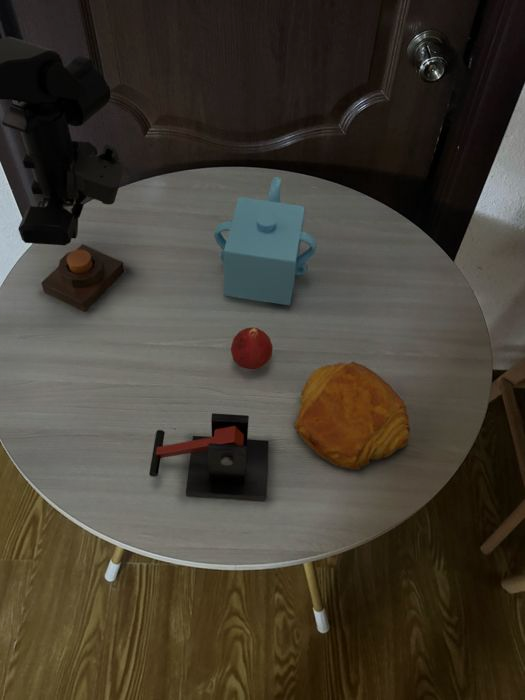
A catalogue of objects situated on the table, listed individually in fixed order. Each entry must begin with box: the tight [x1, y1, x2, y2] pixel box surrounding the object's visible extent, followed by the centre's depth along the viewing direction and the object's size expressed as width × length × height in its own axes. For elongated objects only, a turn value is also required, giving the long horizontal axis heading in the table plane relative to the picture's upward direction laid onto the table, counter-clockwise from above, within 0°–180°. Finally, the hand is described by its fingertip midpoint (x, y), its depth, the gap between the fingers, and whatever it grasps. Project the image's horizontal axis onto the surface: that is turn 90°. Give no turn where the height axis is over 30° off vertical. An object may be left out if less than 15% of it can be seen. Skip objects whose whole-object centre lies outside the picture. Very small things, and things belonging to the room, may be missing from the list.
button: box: [67, 249, 93, 274], centre depth 94 cm, size 4×4×2 cm
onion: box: [230, 327, 273, 371], centre depth 87 cm, size 6×6×8 cm
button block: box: [40, 243, 125, 313], centre depth 96 cm, size 10×8×4 cm
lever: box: [148, 426, 244, 478], centre depth 75 cm, size 12×6×2 cm, turn 88°
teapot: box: [213, 176, 317, 306], centre depth 97 cm, size 18×16×13 cm
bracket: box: [185, 412, 270, 502], centre depth 76 cm, size 10×8×10 cm
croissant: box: [293, 361, 411, 471], centre depth 82 cm, size 14×16×8 cm
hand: (73, 236), depth 90 cm, fingers closed
